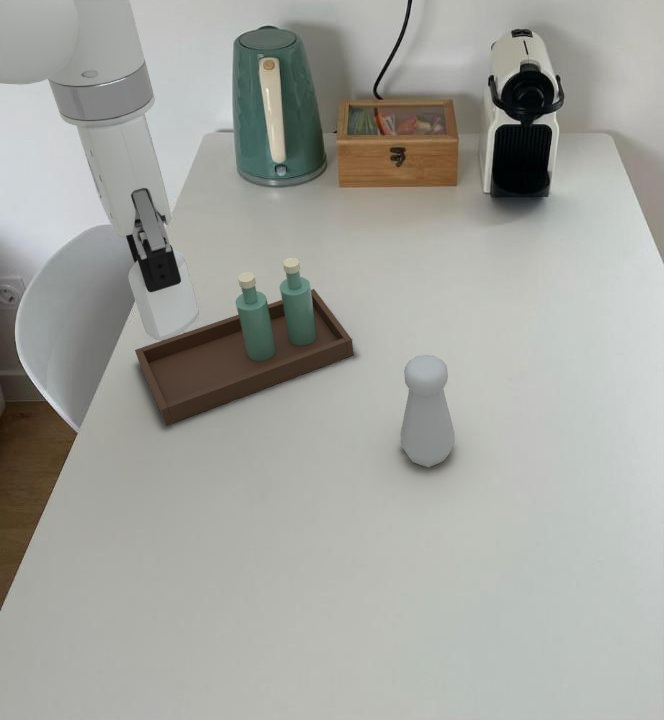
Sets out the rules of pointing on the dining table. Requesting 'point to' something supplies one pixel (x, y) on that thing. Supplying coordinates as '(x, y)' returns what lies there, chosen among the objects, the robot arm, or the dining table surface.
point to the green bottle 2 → (297, 305)
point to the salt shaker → (426, 412)
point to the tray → (234, 361)
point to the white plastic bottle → (165, 302)
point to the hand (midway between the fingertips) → (157, 271)
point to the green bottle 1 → (255, 319)
